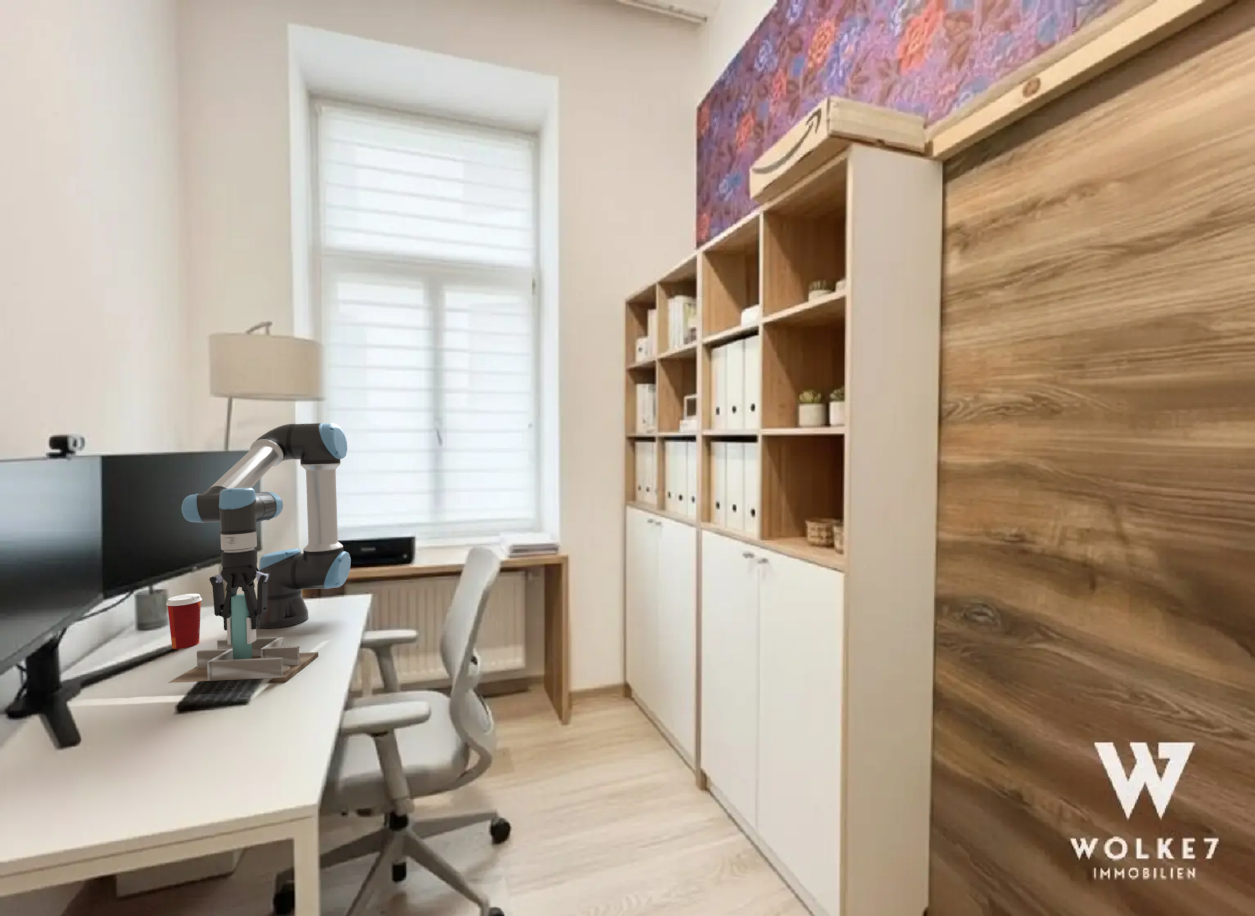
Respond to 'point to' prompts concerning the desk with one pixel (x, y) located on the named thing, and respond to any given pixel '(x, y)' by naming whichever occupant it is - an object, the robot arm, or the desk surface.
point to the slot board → (249, 662)
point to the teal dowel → (240, 628)
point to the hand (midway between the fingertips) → (242, 642)
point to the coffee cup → (184, 620)
